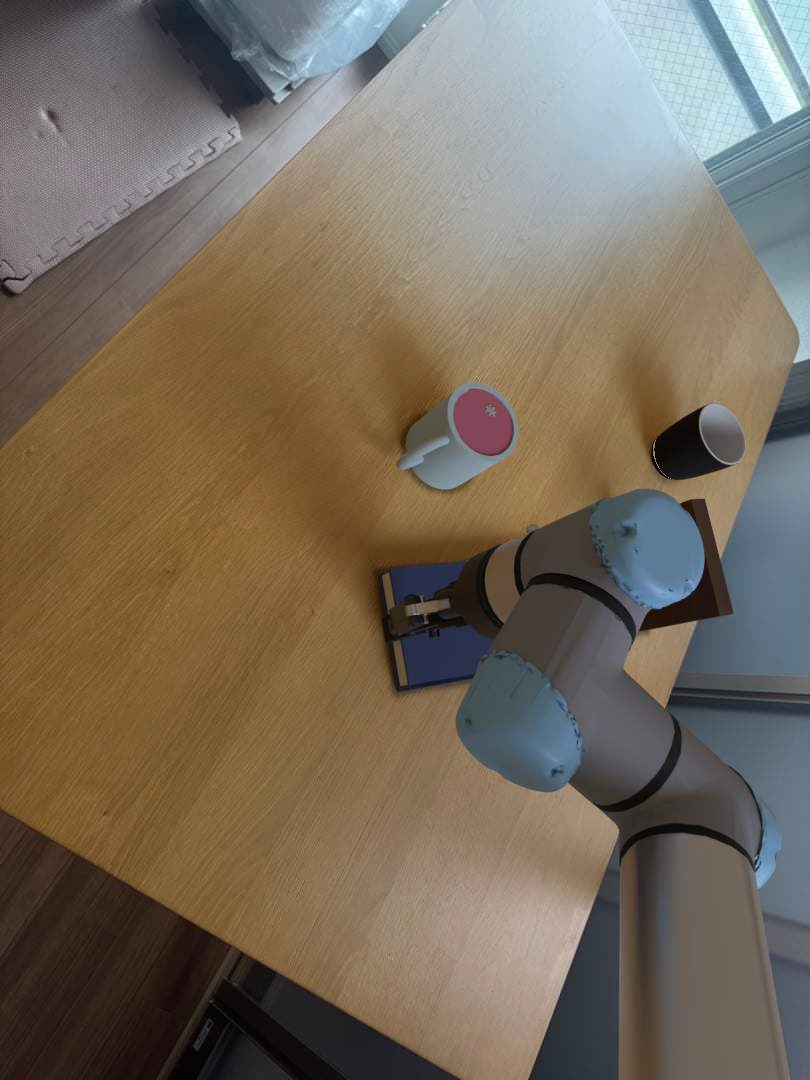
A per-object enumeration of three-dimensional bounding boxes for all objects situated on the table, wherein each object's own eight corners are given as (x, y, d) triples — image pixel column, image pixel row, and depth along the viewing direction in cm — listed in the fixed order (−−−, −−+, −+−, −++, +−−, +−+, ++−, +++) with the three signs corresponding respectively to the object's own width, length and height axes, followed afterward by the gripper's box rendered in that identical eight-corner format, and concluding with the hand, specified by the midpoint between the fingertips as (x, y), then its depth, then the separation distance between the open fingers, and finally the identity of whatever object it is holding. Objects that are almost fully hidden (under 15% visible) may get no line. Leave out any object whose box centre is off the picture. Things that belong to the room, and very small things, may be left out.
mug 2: (673, 500, 105) (732, 478, 96) (633, 455, 104) (689, 428, 95) (703, 450, 111) (761, 424, 102) (666, 407, 110) (722, 377, 101)
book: (397, 692, 78) (410, 690, 75) (378, 573, 81) (389, 568, 78) (569, 661, 90) (585, 659, 87) (547, 558, 92) (563, 553, 89)
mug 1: (450, 408, 91) (494, 373, 82) (483, 475, 91) (531, 446, 82) (361, 441, 84) (400, 406, 75) (397, 513, 84) (439, 486, 75)
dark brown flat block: (632, 632, 95) (720, 615, 83) (609, 529, 98) (691, 498, 86) (645, 630, 96) (734, 613, 84) (622, 528, 99) (705, 498, 87)
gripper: (573, 536, 61) (434, 589, 81) (442, 545, 55) (327, 600, 75) (592, 625, 60) (446, 656, 80) (460, 645, 53) (338, 673, 74)
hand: (389, 629), depth 77 cm, fingers closed
